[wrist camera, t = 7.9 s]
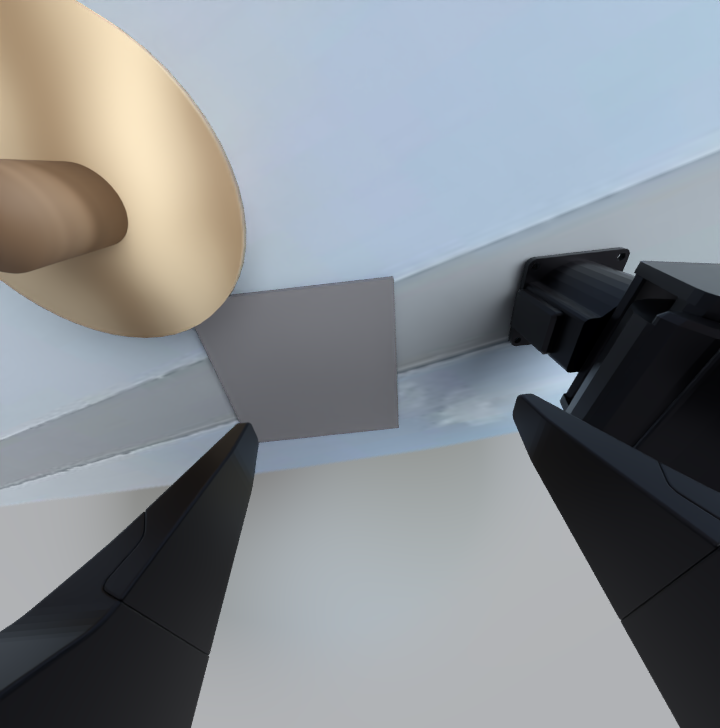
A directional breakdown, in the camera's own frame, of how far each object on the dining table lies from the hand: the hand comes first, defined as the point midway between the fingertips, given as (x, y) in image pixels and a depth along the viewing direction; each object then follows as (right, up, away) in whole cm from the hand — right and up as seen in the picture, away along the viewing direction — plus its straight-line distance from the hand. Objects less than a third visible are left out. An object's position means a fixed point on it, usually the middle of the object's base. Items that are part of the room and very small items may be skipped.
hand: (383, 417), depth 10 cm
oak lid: (-12, +9, +3) cm, 15 cm away
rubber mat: (-5, +1, +13) cm, 14 cm away
